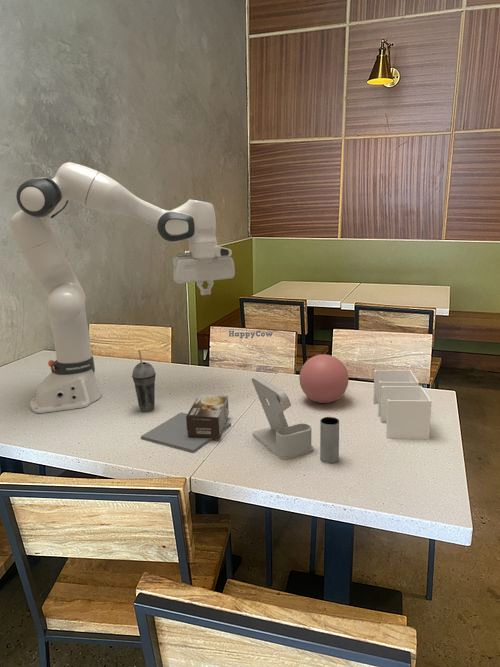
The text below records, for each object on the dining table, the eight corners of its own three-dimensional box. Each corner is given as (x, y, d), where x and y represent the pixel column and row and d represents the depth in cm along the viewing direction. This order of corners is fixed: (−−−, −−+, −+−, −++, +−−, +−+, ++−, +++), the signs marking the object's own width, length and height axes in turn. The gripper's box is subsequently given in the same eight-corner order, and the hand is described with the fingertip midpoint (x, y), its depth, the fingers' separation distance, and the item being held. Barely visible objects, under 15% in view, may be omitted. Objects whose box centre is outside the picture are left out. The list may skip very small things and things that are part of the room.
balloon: (360, 393, 163) (361, 348, 160) (335, 414, 147) (336, 365, 144) (318, 385, 172) (319, 343, 168) (290, 404, 156) (290, 358, 152)
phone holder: (316, 451, 126) (316, 385, 121) (282, 461, 121) (280, 393, 117) (281, 426, 141) (280, 366, 136) (250, 434, 136) (248, 373, 132)
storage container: (429, 439, 130) (431, 401, 128) (386, 439, 132) (388, 400, 129) (409, 403, 154) (410, 370, 152) (373, 402, 156) (374, 370, 153)
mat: (181, 414, 151) (180, 412, 151) (230, 425, 142) (230, 423, 142) (141, 438, 136) (140, 436, 136) (193, 452, 127) (193, 450, 127)
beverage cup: (163, 407, 157) (158, 347, 152) (149, 415, 151) (144, 353, 146) (144, 403, 160) (139, 345, 155) (130, 412, 154) (124, 351, 149)
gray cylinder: (318, 455, 124) (318, 417, 121) (336, 453, 124) (336, 416, 122) (322, 464, 119) (322, 425, 117) (340, 462, 120) (341, 423, 117)
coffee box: (199, 413, 149) (186, 437, 134) (198, 394, 148) (184, 416, 132) (229, 414, 148) (219, 438, 132) (228, 394, 146) (218, 416, 131)
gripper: (175, 254, 148) (178, 299, 152) (236, 250, 157) (237, 292, 161) (168, 253, 154) (171, 296, 157) (227, 248, 163) (229, 290, 166)
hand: (205, 294), depth 159 cm, fingers closed
